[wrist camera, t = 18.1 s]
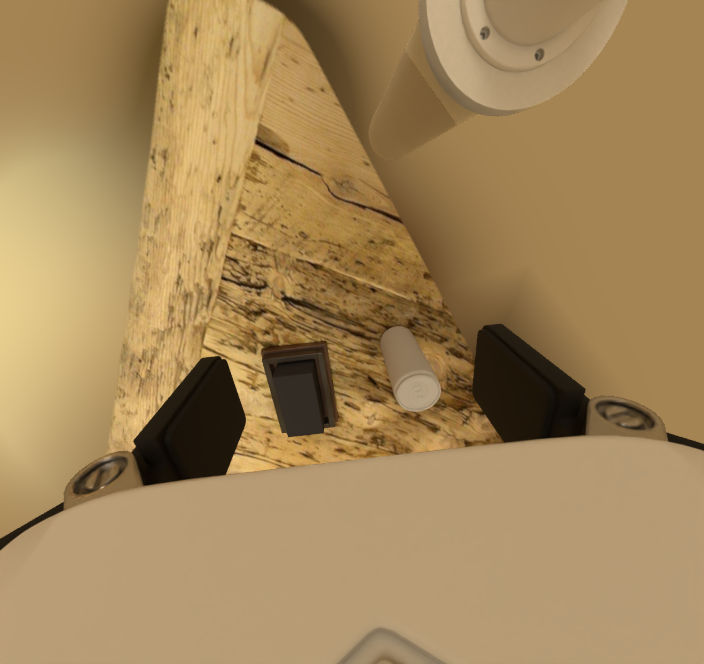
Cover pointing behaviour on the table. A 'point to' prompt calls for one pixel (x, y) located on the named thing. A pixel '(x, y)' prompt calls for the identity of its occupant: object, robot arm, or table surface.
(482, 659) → the robot arm
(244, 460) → the table surface
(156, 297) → the table surface
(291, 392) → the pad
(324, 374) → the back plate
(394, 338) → the beverage can
